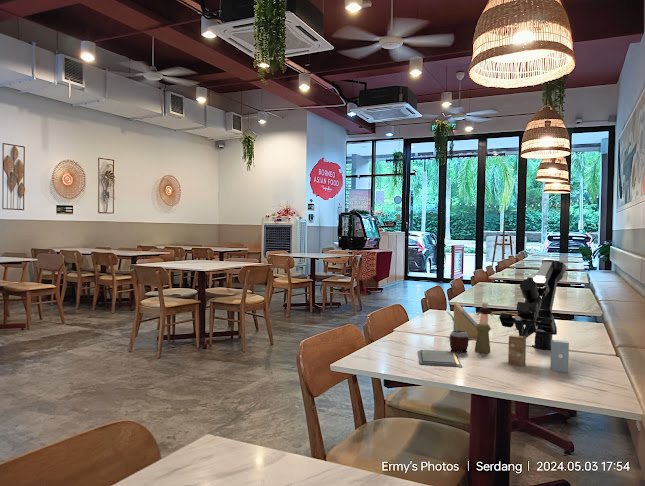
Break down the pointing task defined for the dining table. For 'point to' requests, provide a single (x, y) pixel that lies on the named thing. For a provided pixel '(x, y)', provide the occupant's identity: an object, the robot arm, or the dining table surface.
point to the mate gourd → (458, 340)
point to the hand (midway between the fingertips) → (520, 340)
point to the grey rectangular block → (559, 355)
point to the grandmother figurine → (484, 313)
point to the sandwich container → (464, 321)
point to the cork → (482, 338)
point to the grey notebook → (438, 358)
